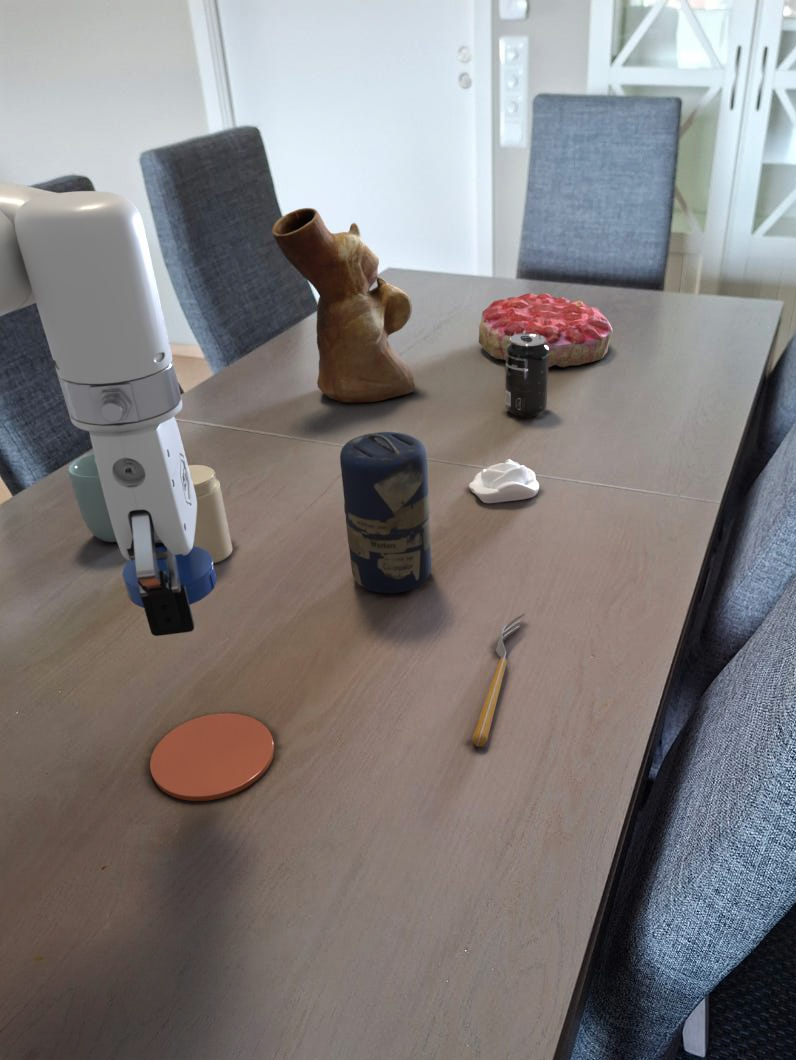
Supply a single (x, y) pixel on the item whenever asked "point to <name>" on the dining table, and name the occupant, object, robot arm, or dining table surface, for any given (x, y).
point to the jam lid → (191, 570)
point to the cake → (547, 327)
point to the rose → (505, 483)
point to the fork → (493, 689)
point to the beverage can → (526, 375)
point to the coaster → (212, 757)
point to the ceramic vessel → (348, 309)
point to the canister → (387, 510)
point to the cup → (91, 497)
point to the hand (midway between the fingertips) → (176, 603)
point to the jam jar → (210, 514)
